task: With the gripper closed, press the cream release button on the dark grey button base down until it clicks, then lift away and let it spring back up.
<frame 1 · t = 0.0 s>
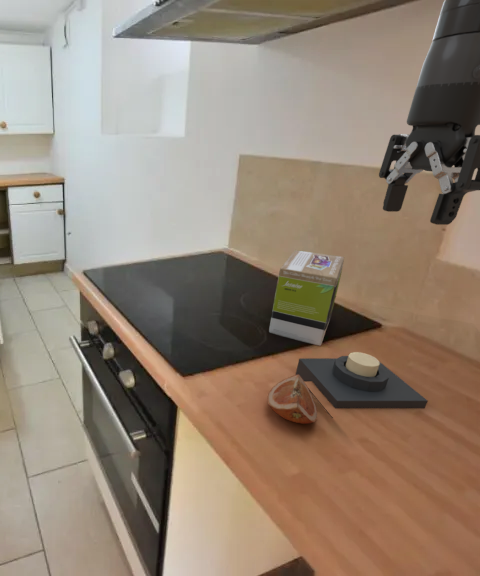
hand: (413, 217, 52), 28 cm above the worktop, tool pointing down, fingers open, 8 cm apart
release button: (362, 364, 58), point 6 cm above the worktop, slide at 0.1 cm
tea box: (299, 326, 82), on the worktop
fruit slice: (289, 417, 56), on the worktop
dark grey button base: (352, 394, 61), on the worktop
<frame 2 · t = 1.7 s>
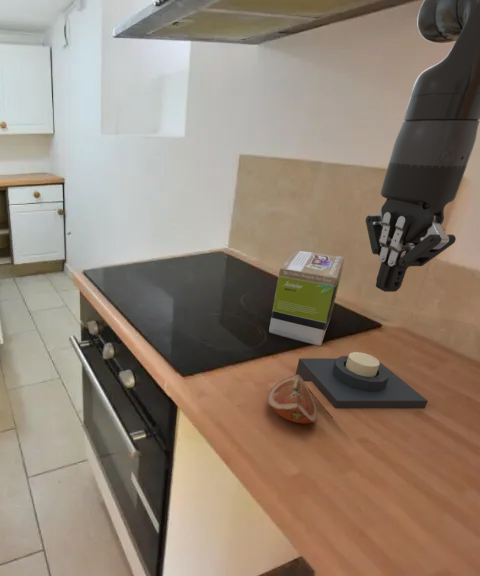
hand: (386, 289, 54), 18 cm above the worktop, tool pointing down, fingers closed
nothing on the worktop moved.
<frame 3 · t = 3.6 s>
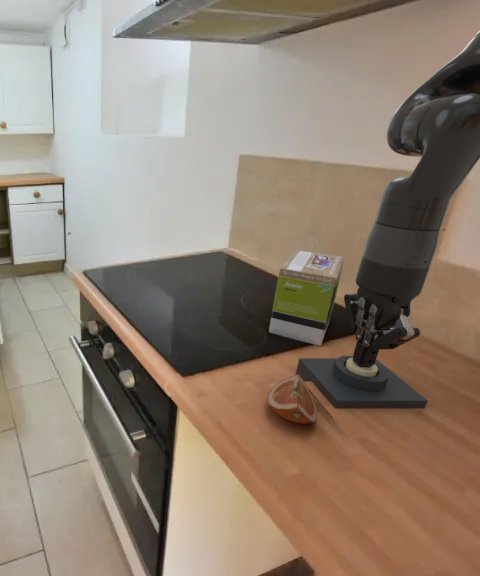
hand: (361, 364, 58), 6 cm above the worktop, tool pointing down, fingers closed
release button: (360, 370, 59), point 5 cm above the worktop, slide at -0.9 cm, touching gripper
everything else where it was.
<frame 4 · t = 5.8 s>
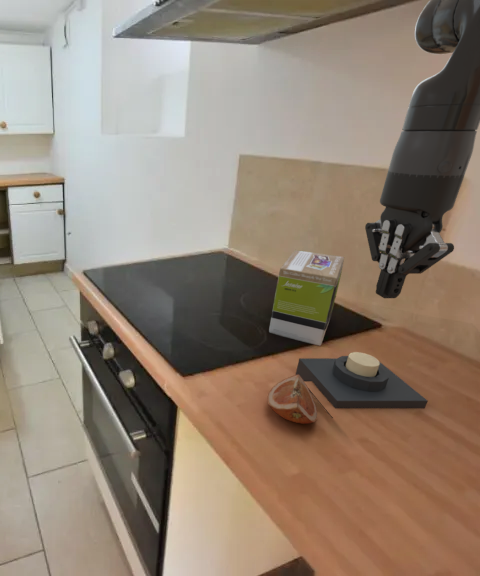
hand: (385, 296, 54), 17 cm above the worktop, tool pointing down, fingers closed
release button: (362, 364, 58), point 6 cm above the worktop, slide at 0.1 cm
everything else where it was.
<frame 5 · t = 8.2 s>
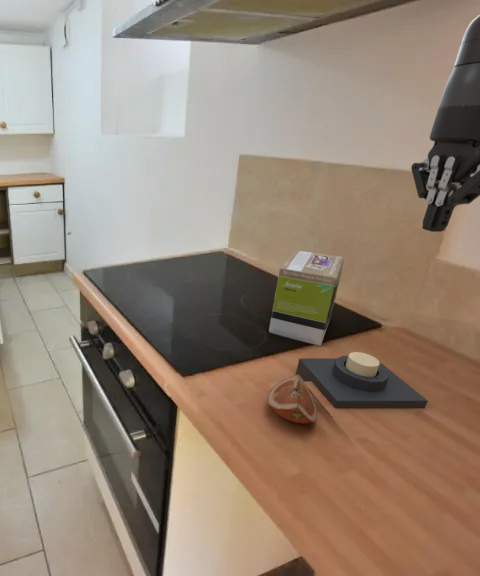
hand: (432, 230, 57), 25 cm above the worktop, tool pointing down, fingers closed
nothing on the worktop moved.
at the end: release button pushed in 1.1 cm at the most during the clip, back to where it started at the end; release button slide at 0.1 cm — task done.
